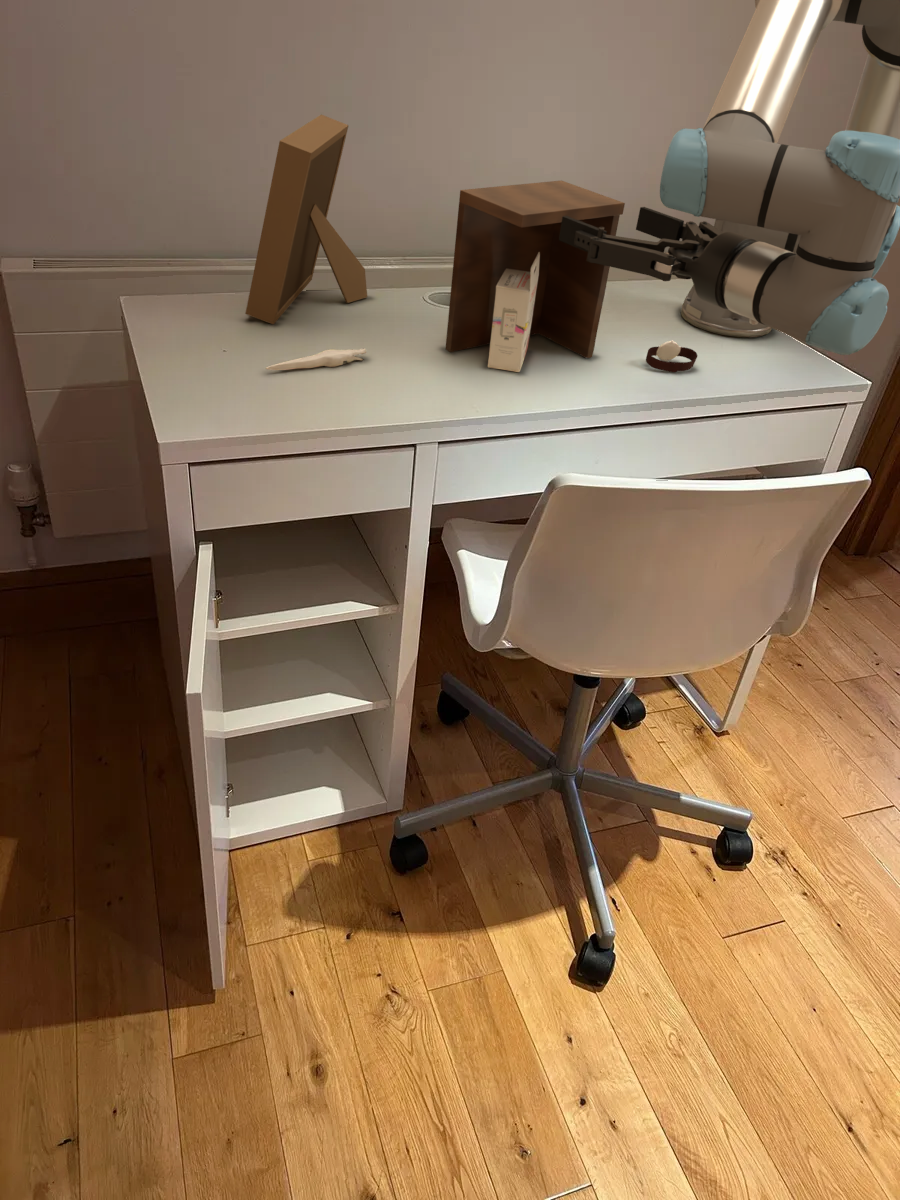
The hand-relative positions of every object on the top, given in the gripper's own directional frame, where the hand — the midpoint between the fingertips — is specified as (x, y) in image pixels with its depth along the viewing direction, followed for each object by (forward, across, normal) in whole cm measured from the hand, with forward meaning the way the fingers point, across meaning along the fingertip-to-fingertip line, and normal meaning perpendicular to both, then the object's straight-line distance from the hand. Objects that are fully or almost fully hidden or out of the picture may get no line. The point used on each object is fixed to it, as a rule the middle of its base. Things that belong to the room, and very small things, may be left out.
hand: (602, 222), depth 112 cm
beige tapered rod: (+23, -26, -23) cm, 42 cm away
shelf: (+14, +4, -23) cm, 27 cm away
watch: (0, +21, -23) cm, 31 cm away
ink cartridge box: (+13, 0, -23) cm, 26 cm away
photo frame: (+44, -14, -23) cm, 52 cm away
